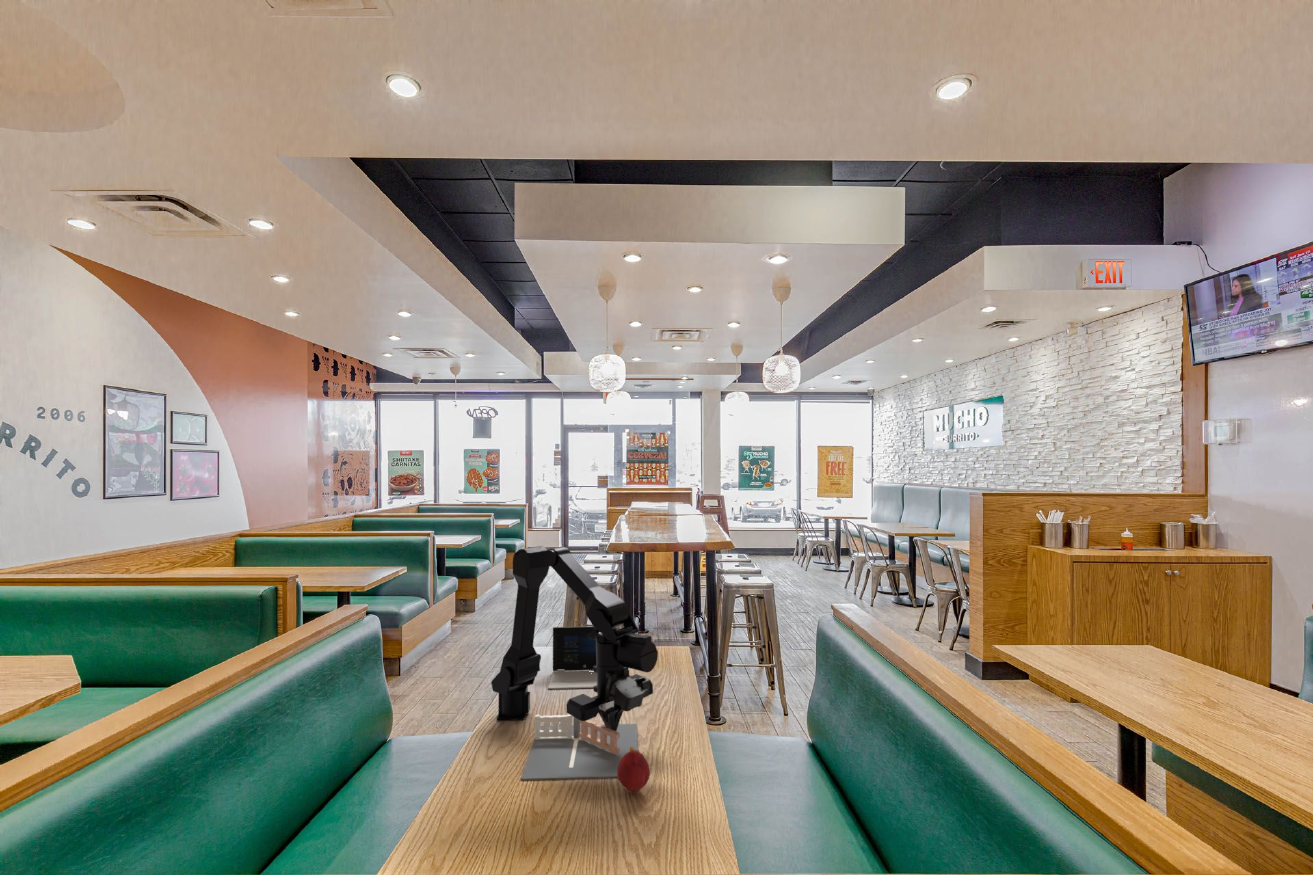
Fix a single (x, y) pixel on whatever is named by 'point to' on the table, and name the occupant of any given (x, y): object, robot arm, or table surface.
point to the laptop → (573, 658)
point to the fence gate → (593, 737)
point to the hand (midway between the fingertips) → (612, 737)
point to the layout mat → (577, 756)
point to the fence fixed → (554, 726)
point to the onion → (633, 771)
